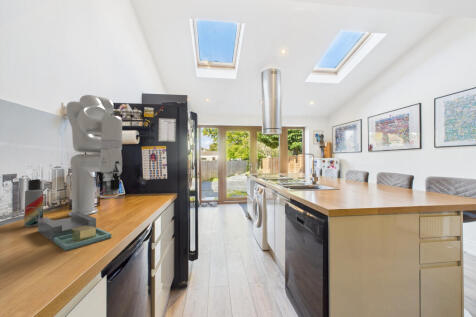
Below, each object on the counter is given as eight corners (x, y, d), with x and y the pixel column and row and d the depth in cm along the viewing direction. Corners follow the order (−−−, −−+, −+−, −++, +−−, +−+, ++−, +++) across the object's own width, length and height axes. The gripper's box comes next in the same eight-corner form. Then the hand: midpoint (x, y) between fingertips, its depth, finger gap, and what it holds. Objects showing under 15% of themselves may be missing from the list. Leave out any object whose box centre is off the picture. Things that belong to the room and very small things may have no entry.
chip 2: (76, 229, 68) (80, 231, 66) (91, 226, 72) (95, 227, 70) (76, 241, 68) (79, 243, 66) (91, 237, 72) (95, 239, 70)
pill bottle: (102, 196, 84) (102, 173, 84) (118, 195, 87) (118, 172, 87) (103, 198, 79) (103, 173, 79) (119, 197, 83) (119, 173, 83)
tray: (53, 242, 68) (53, 237, 68) (97, 231, 79) (97, 227, 79) (65, 251, 61) (65, 246, 61) (111, 237, 72) (111, 233, 72)
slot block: (37, 231, 79) (38, 218, 79) (77, 222, 90) (78, 211, 90) (52, 241, 69) (52, 227, 69) (95, 230, 79) (96, 218, 79)
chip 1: (71, 238, 70) (71, 228, 70) (86, 234, 74) (87, 225, 74) (75, 241, 68) (75, 231, 68) (91, 237, 72) (91, 227, 72)
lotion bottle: (30, 227, 83) (31, 179, 84) (20, 226, 85) (21, 179, 85) (46, 223, 89) (47, 178, 89) (36, 222, 90) (37, 178, 90)
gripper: (92, 146, 85) (92, 188, 85) (111, 143, 76) (111, 191, 75) (111, 147, 92) (111, 186, 91) (131, 145, 82) (131, 189, 82)
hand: (111, 188), depth 83 cm, fingers closed on pill bottle, 5 cm apart
